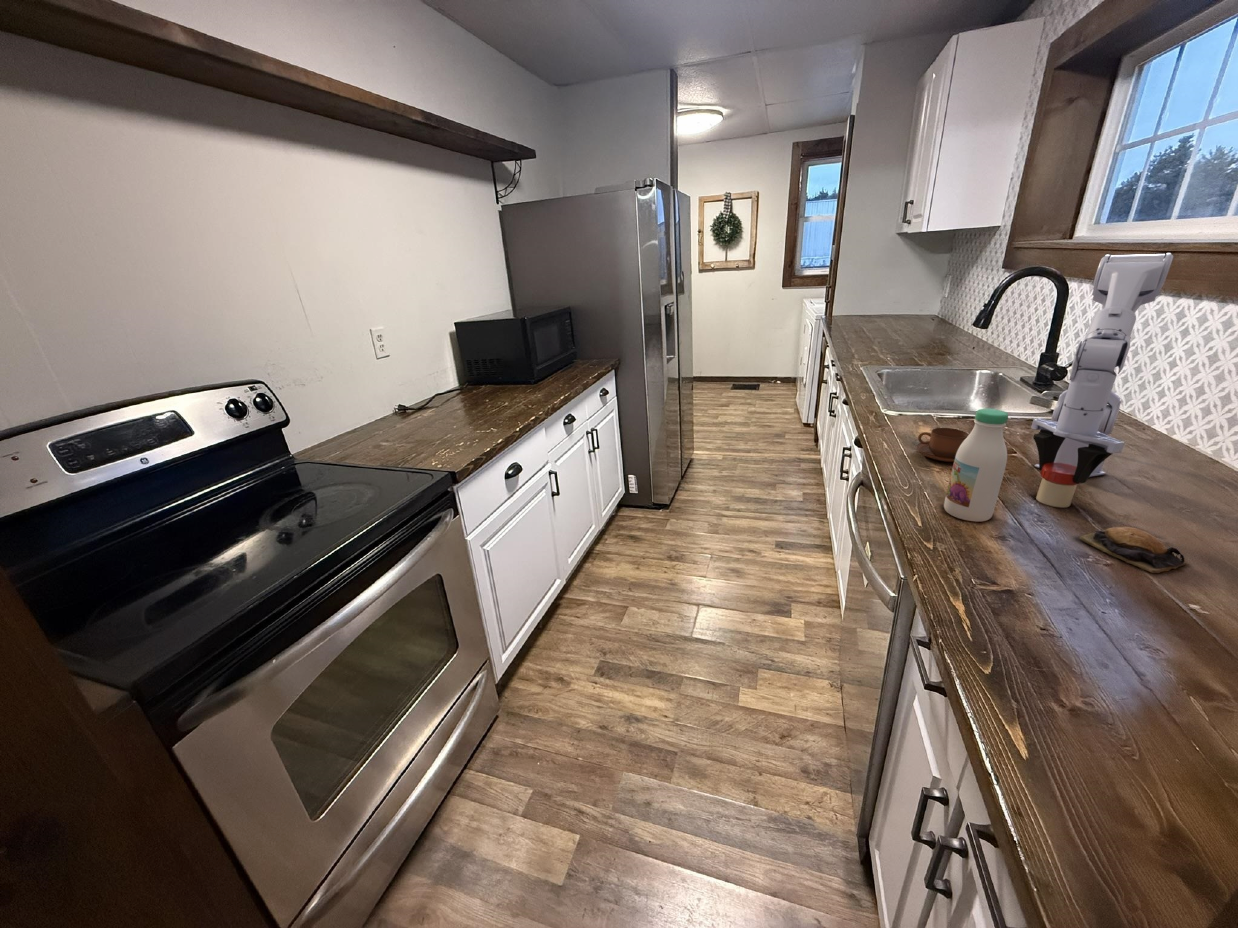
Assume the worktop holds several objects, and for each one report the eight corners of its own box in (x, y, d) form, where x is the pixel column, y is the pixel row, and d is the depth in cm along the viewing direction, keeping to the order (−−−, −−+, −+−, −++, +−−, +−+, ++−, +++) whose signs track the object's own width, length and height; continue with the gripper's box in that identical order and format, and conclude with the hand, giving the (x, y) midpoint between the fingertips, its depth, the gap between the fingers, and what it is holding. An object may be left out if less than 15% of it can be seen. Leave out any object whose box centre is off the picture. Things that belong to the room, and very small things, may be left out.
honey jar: (1049, 493, 100) (1059, 464, 97) (1077, 505, 95) (1088, 474, 93) (1029, 497, 99) (1038, 468, 96) (1056, 509, 94) (1066, 478, 91)
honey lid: (1032, 474, 97) (1035, 464, 96) (1058, 470, 98) (1061, 461, 97) (1062, 486, 92) (1066, 476, 91) (1090, 483, 93) (1093, 472, 92)
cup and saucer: (919, 463, 116) (924, 438, 114) (912, 446, 126) (917, 423, 124) (980, 469, 112) (986, 443, 110) (968, 450, 122) (974, 426, 120)
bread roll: (1074, 540, 84) (1080, 521, 83) (1111, 532, 86) (1118, 513, 85) (1151, 575, 74) (1159, 554, 73) (1191, 564, 76) (1200, 544, 75)
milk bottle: (984, 505, 96) (1011, 406, 89) (997, 525, 90) (1027, 419, 82) (938, 501, 99) (960, 404, 91) (948, 519, 92) (973, 416, 84)
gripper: (1026, 399, 95) (1008, 464, 100) (1111, 420, 82) (1085, 494, 87) (1056, 395, 97) (1037, 460, 102) (1144, 416, 83) (1116, 488, 89)
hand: (1061, 475), depth 95 cm, fingers closed on honey lid, 6 cm apart
